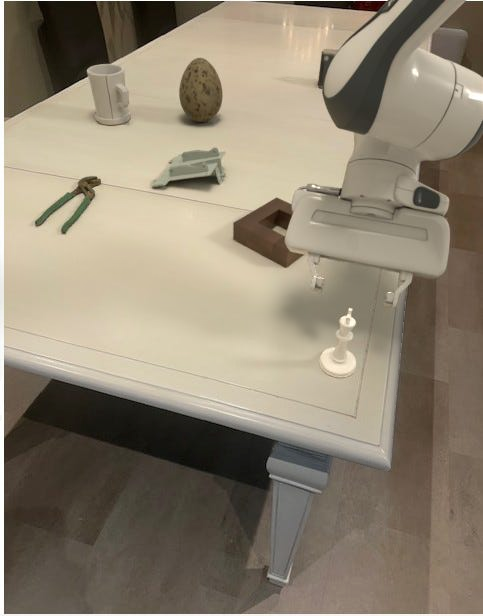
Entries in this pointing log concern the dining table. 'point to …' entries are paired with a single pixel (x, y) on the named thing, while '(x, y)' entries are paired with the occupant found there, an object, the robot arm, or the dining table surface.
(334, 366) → the chess piece
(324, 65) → the camera
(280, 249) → the socket block
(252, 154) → the dining table surface
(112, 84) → the cup
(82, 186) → the pliers
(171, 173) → the metal bracket
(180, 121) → the dining table surface
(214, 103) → the decorative egg
